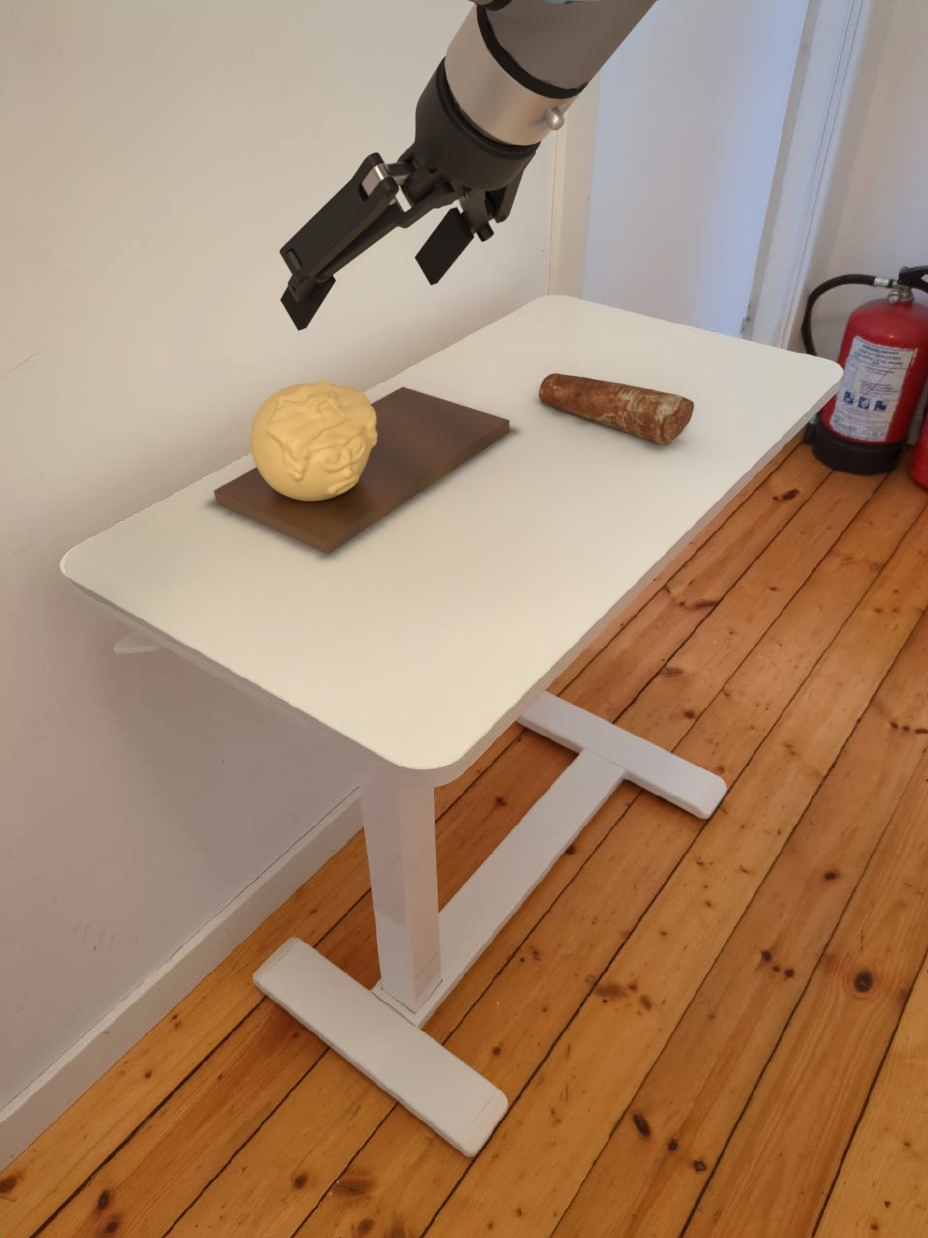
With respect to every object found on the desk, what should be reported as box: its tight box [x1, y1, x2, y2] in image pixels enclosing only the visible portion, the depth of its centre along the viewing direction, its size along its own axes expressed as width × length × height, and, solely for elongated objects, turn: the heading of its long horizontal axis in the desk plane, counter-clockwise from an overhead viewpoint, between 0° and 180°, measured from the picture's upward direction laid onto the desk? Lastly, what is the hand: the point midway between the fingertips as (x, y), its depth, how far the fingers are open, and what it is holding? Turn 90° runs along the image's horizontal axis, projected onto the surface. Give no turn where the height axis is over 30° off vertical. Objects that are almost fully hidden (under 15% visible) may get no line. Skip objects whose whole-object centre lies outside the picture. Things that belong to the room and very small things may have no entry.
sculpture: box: [249, 379, 377, 501], centre depth 88 cm, size 12×12×11 cm
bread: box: [538, 372, 695, 445], centre depth 103 cm, size 6×19×6 cm, turn 48°
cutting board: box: [213, 386, 511, 554], centre depth 97 cm, size 30×16×2 cm, turn 143°
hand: (362, 291), depth 72 cm, fingers open, 13 cm apart
